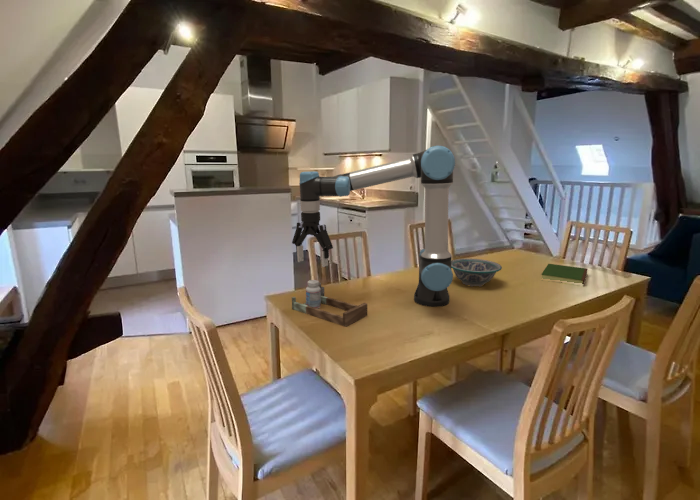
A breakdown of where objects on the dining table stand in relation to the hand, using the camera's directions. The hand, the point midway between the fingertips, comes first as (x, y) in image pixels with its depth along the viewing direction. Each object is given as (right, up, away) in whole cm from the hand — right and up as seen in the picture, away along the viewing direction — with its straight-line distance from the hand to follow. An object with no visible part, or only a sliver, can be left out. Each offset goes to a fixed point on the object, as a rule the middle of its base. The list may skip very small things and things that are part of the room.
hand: (312, 263), depth 161 cm
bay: (+8, -19, +1) cm, 21 cm away
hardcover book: (+126, -9, +45) cm, 134 cm away
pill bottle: (0, -18, +4) cm, 19 cm away
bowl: (+76, -11, +35) cm, 85 cm away
